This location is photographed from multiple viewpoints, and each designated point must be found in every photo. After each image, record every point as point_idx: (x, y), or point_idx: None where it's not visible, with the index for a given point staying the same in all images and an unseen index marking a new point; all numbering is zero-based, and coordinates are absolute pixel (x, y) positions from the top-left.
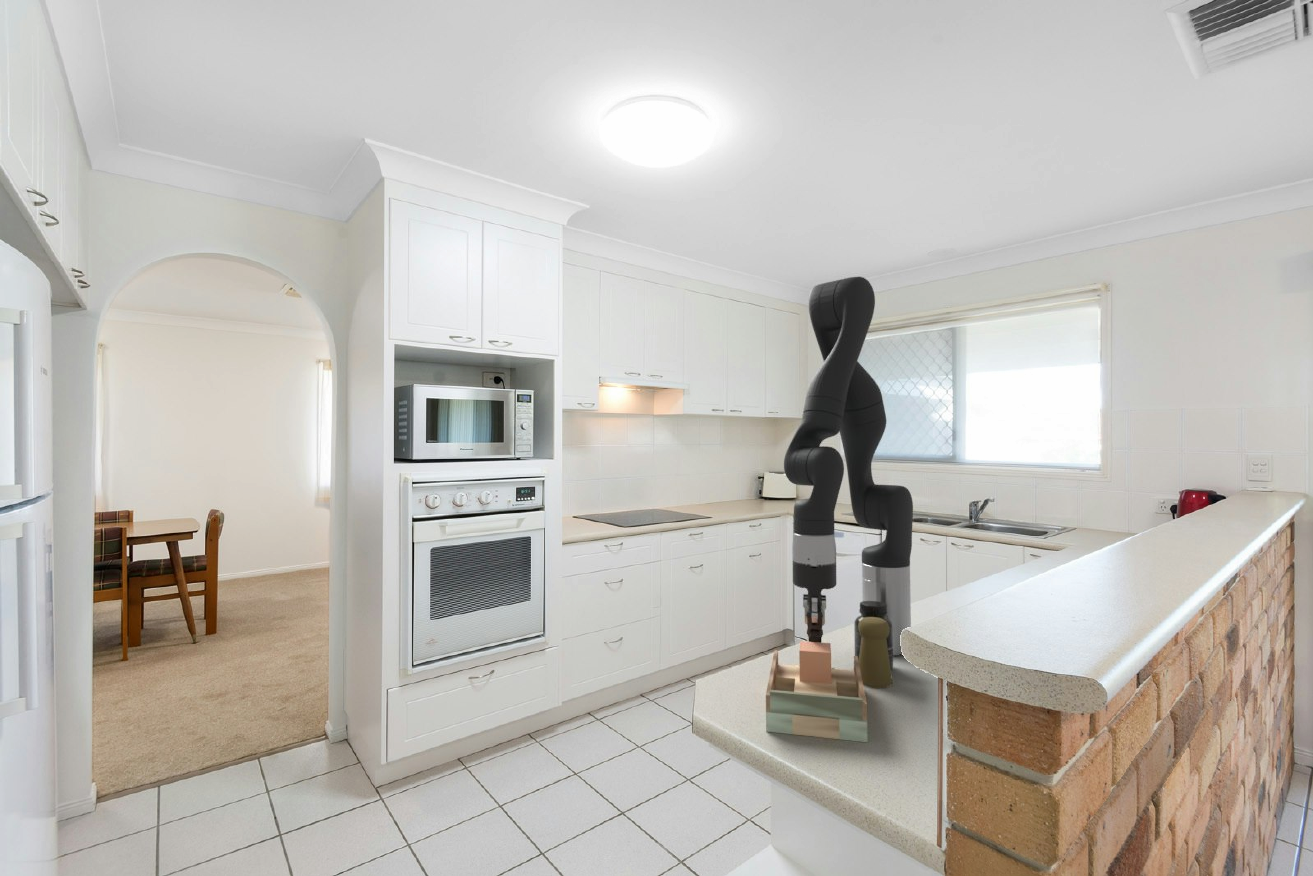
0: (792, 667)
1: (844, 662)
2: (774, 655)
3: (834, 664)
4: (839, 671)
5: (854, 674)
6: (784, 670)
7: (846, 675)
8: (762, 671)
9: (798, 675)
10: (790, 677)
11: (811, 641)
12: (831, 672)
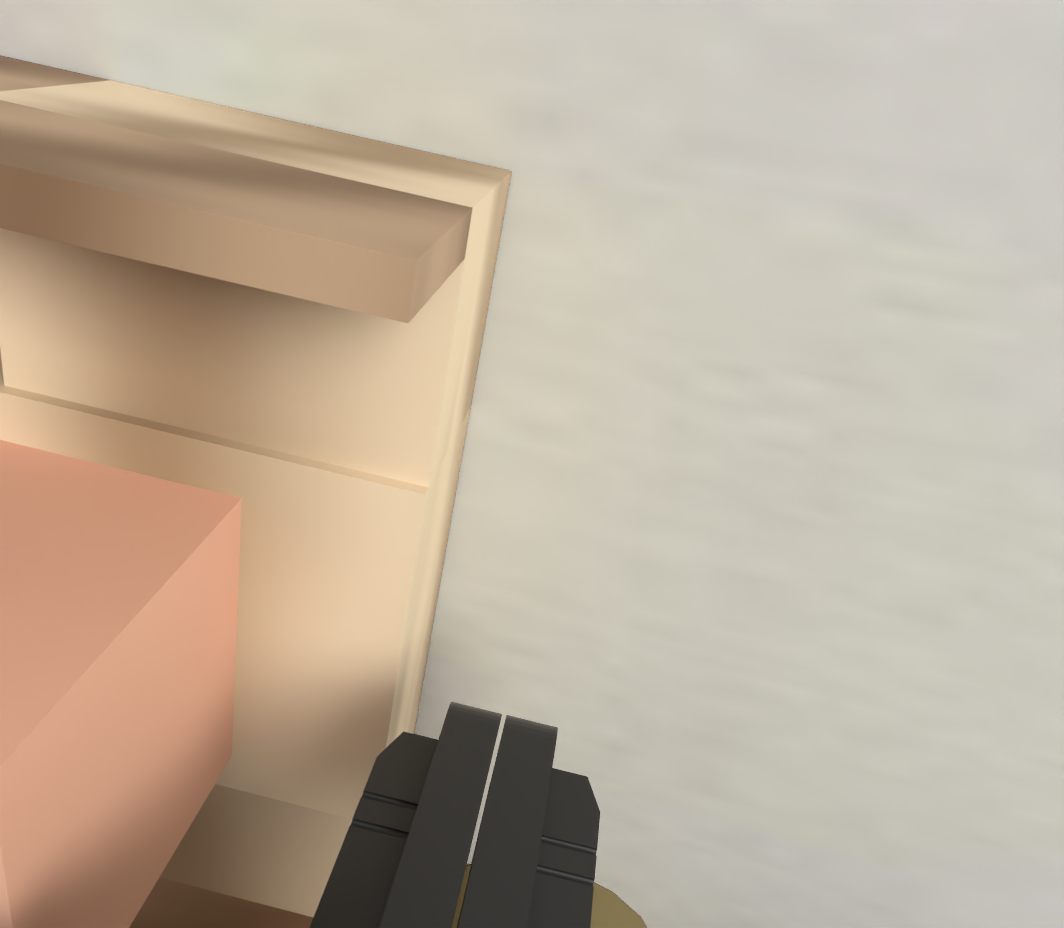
0: (367, 430)
1: (977, 917)
2: (110, 208)
3: (941, 837)
4: (313, 829)
5: (261, 904)
6: (239, 306)
7: (224, 847)
8: (839, 37)
9: (69, 440)
10: (26, 336)
11: (318, 909)
12: (240, 764)
